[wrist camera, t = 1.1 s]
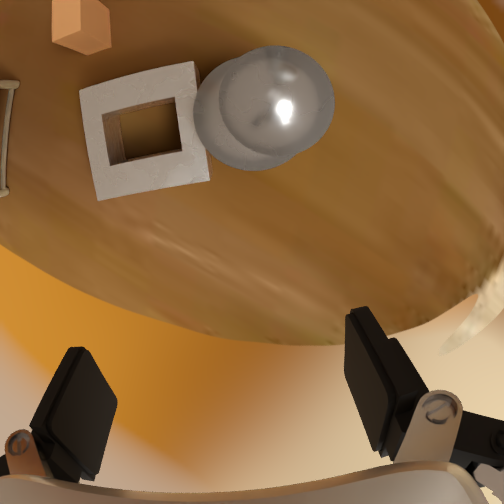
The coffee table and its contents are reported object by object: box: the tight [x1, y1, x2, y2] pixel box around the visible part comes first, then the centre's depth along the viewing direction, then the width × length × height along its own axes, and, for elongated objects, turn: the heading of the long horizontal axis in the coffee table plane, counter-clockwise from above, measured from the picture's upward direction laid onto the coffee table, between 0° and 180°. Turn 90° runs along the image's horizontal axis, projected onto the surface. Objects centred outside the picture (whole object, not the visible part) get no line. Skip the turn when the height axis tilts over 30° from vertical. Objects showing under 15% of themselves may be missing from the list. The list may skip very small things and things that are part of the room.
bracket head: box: [79, 46, 335, 201], centre depth 21 cm, size 11×20×20 cm, turn 97°
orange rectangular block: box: [52, 0, 112, 55], centre depth 21 cm, size 3×5×8 cm, turn 7°
